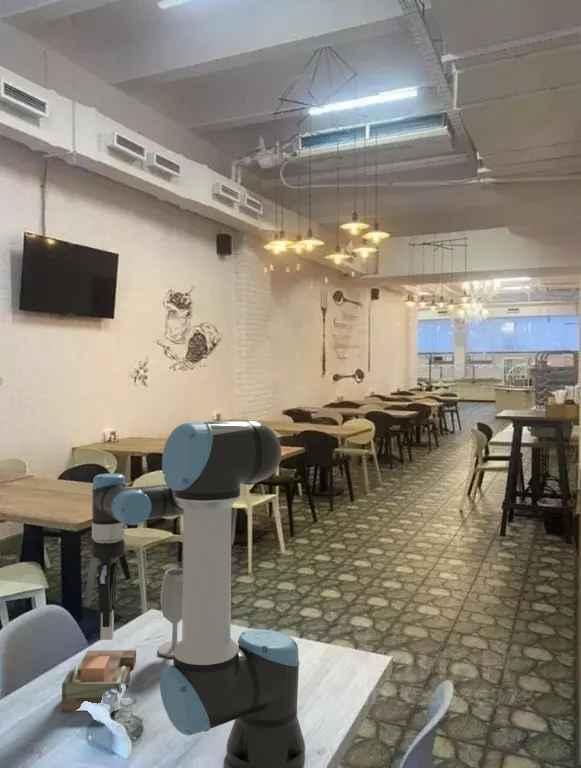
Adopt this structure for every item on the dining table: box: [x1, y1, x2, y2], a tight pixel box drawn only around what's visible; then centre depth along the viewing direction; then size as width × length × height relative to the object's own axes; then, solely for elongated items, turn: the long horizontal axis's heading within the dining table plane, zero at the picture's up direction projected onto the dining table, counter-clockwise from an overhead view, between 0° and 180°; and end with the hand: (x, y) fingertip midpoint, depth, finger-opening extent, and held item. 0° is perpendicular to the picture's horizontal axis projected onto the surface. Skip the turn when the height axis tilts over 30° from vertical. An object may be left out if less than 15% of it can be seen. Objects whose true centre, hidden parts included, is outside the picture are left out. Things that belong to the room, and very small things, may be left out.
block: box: [81, 656, 110, 682], centre depth 139 cm, size 6×5×5 cm
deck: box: [61, 649, 137, 713], centre depth 145 cm, size 23×12×6 cm, turn 5°
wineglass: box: [157, 568, 183, 658], centre depth 164 cm, size 9×9×21 cm
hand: (106, 638), depth 148 cm, fingers closed
